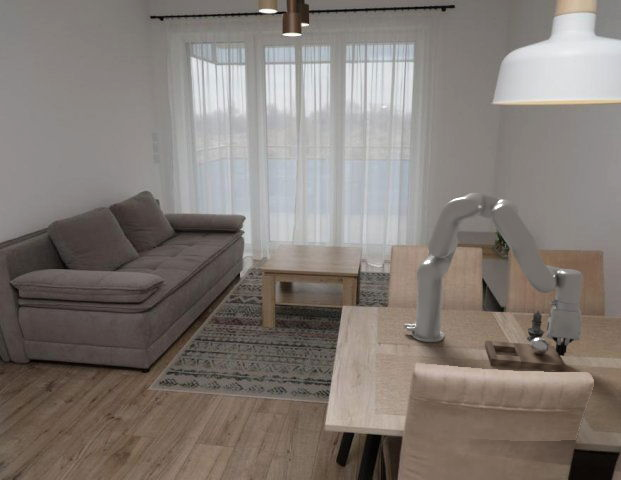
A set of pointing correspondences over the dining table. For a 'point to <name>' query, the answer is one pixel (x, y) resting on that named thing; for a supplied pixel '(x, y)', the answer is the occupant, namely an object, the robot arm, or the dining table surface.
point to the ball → (539, 345)
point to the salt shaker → (535, 327)
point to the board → (523, 356)
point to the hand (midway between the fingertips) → (560, 353)
